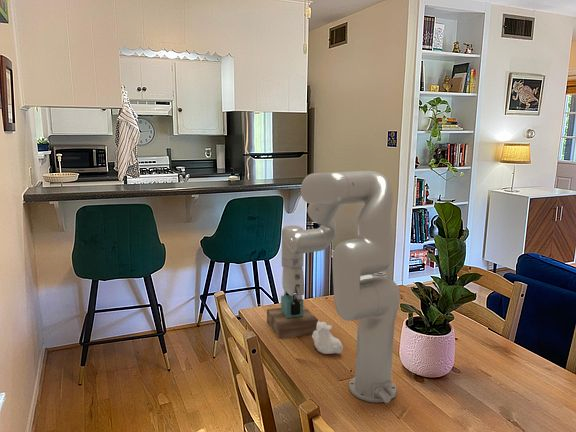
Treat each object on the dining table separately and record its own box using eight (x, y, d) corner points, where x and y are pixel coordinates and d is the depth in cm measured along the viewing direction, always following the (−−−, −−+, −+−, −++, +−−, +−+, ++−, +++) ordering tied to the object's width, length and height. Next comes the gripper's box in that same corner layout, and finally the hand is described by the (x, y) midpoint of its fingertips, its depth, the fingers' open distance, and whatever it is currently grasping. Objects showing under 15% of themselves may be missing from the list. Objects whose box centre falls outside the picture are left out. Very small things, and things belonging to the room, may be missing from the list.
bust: (311, 351, 150) (296, 332, 144) (324, 332, 153) (310, 313, 147) (339, 365, 142) (325, 345, 135) (352, 345, 145) (338, 324, 138)
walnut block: (317, 332, 158) (317, 319, 158) (279, 338, 154) (279, 324, 153) (302, 317, 171) (302, 304, 170) (266, 322, 167) (266, 309, 166)
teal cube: (303, 315, 160) (303, 299, 159) (286, 318, 158) (287, 301, 157) (296, 309, 165) (296, 293, 164) (281, 311, 163) (281, 295, 162)
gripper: (312, 267, 151) (311, 318, 155) (293, 254, 167) (293, 300, 171) (291, 269, 149) (290, 321, 152) (274, 256, 165) (274, 303, 168)
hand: (291, 310), depth 161 cm, fingers open, 6 cm apart
